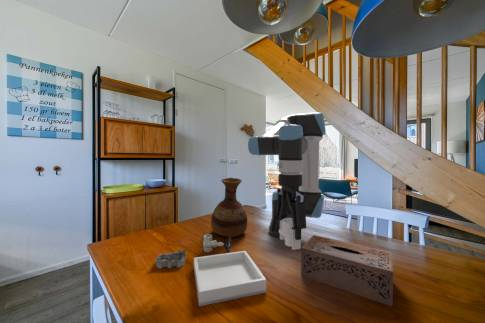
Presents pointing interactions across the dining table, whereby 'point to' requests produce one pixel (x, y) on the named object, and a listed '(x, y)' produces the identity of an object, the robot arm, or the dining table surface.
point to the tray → (227, 277)
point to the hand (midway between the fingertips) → (289, 243)
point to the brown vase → (229, 212)
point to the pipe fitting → (287, 230)
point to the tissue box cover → (349, 267)
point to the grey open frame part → (164, 259)
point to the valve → (215, 243)
